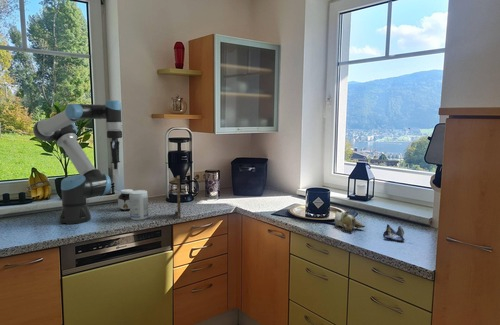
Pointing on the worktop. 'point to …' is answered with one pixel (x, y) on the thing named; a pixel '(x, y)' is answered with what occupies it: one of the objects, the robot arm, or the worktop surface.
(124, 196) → the spread jar
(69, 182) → the robot arm
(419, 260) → the worktop surface
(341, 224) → the ceramic sculpture
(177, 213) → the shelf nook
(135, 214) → the supplement tub
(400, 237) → the twin peaked rock
